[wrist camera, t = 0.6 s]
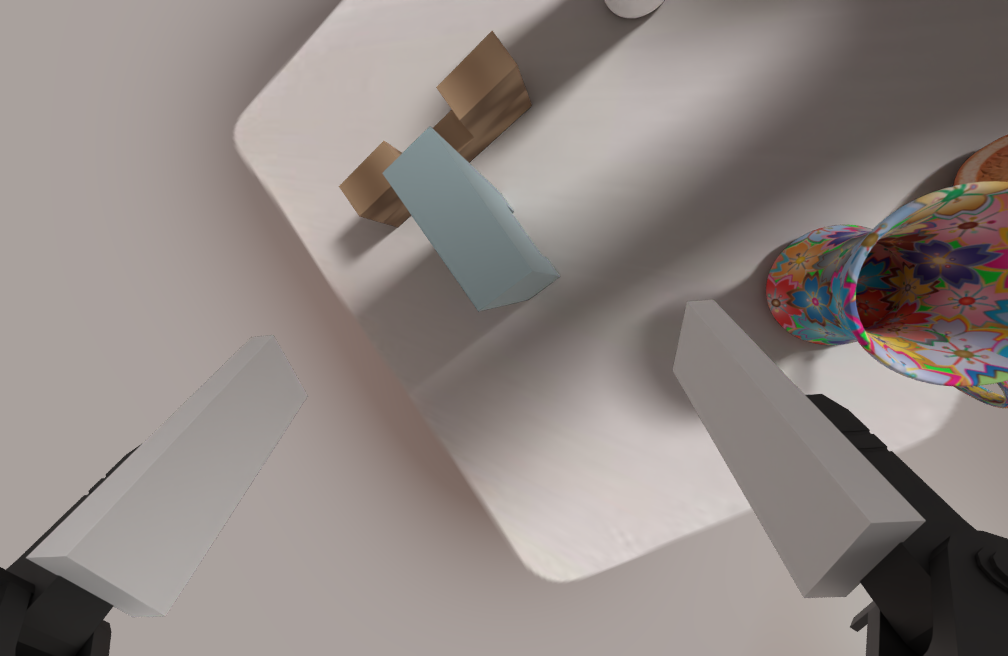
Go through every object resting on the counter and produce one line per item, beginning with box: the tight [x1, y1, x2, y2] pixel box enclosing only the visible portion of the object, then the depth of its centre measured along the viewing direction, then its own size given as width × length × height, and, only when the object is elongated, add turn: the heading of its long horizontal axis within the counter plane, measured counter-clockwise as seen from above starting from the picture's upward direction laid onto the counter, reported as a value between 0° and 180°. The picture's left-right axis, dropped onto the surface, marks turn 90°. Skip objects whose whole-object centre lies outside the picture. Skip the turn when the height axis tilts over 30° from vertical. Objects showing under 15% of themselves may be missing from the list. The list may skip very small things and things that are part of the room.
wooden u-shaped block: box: [339, 31, 532, 227], centre depth 29 cm, size 16×3×6 cm, turn 126°
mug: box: [766, 181, 1008, 408], centre depth 21 cm, size 12×9×11 cm
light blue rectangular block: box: [382, 126, 560, 312], centre depth 25 cm, size 4×9×14 cm, turn 36°
